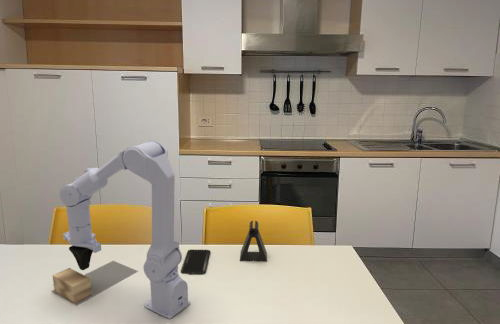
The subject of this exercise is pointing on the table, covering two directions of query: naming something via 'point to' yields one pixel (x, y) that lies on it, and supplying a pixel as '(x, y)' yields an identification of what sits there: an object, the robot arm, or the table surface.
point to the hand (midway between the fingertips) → (84, 268)
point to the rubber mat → (105, 278)
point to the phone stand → (262, 251)
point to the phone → (196, 262)
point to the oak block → (72, 285)
